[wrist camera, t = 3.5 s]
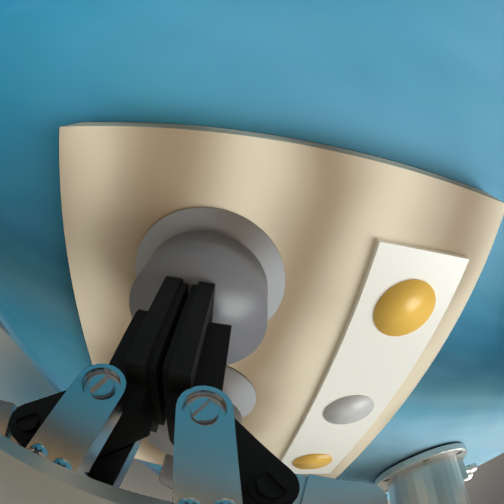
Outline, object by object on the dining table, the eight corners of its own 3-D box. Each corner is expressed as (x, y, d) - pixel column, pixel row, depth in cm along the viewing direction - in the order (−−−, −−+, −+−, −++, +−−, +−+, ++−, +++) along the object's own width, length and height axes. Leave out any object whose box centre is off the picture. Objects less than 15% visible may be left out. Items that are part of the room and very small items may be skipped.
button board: (484, 191, 12) (509, 205, 10) (331, 464, 25) (333, 482, 23) (84, 122, 12) (56, 127, 10) (133, 440, 24) (127, 458, 22)
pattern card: (466, 256, 12) (470, 260, 11) (328, 470, 22) (329, 474, 21) (377, 238, 12) (380, 243, 11) (274, 470, 22) (274, 474, 21)
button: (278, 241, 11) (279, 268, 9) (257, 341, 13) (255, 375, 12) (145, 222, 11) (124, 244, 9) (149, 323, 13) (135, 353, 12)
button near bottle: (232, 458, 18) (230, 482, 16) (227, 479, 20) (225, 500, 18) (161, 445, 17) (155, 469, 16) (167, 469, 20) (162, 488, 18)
